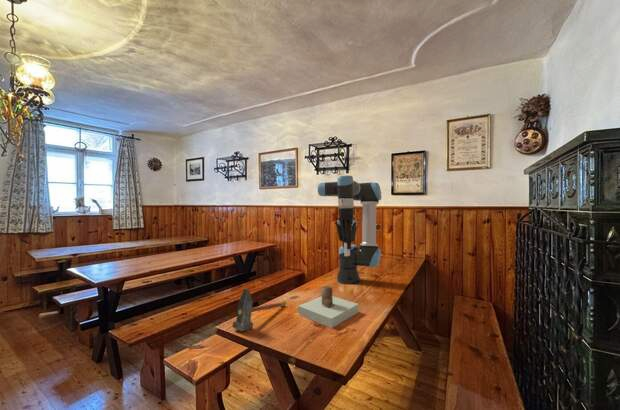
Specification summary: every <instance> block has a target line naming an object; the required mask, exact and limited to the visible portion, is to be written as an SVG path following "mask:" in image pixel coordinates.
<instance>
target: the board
mask: <svg viewBox="0 0 620 410" xmlns="http://www.w3.org/2000/svg"><path fill="white" fill-rule="evenodd" d="M332 297H333V305H332V306H331V307H330V308H327V307H323V306H322V304H321V303H322V299H321V296H318V297H316V298H314V299H311V300H309V301H307V302H306V301H305V303H302V304H299V305H298V306H297V307H298V309H297V310H298V315H299V316H301V317H304V318H306V319H309V320H311V321H313V322H315V323H318V324H321V325H323V326H326V327H328V328H330V329H332V328H334V327H336V326H338V325H339V324H342V323H343V322H344V321H346V320H348V319H350V318H352V317H353V316H355V315H357V314H358V313H359V303H356V302H353V301H349V300H346V299H343V298H340V297H336V296H334V295H332Z"/></svg>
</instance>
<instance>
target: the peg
mask: <svg viewBox="0 0 620 410" xmlns="http://www.w3.org/2000/svg"><path fill="white" fill-rule="evenodd" d="M320 288H321V289H320V290H321V291H320V293H321V299H322V303H321V304H322V306H323V307H327V308H330V307H331V306H332V305H333V297H332V296H333V287H332V286H329V285H324V286H321V287H320Z"/></svg>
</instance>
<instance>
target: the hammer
mask: <svg viewBox="0 0 620 410" xmlns="http://www.w3.org/2000/svg"><path fill="white" fill-rule="evenodd" d="M251 294H252V293H251V292H250V289H248V288H244V289H243V292H242V294H241V295H240V296H241V297H239V298H240V299H238V307H237V314H236V320H235V321H233V322H232V328H233V329H235V330H237V331H240V332H244V331H248V330H251V329H252V328H254V327H253V326H254V322H252V319H251V318H252V313H255V312H260V311H263V310H266V311H267V310H268V309H269V310H270V309H273V308H274V309H275V308H278V307H282V308H283V307H285V306H286V305H287V302H286V300H282V301H280V302H277V303H275V302H274V303H270V304H265V305H261V306H259V305H258V306H255V307H253V303H254V300H253V298H252V295H251Z"/></svg>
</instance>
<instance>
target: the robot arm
mask: <svg viewBox="0 0 620 410" xmlns="http://www.w3.org/2000/svg"><path fill="white" fill-rule="evenodd" d="M381 190H382V189H381V186H380V184H379V183H378V182H373V181H371V182H360V183H359V182H357V181H355V180H354V177H353V176H352V175H339V176H338V177H337V181H332V182H331V181H329V182H325V181H324V182H319V183H318V184H317V194H318V195H319V196H320V197H323V198H324V197H336V198H337V206H338V209H337V210H338V212H337V213H338V214H337V215H338V220H337V221H336V220H335V221H334V224H335V227H336V231H337V237H338V240H339V241H340V242H342V245H341V246H339V248H338V260H339V261H338V268H339V269H338V271H337V272H338V273H337V276H336V281H337V282H338V283H341V284H343V285H344V284H346V285H352V284H353V285H354V284H358V283H360V282H361V276H360V274H359V271H358V267H369V268H373V267H374V268H376V267H378V266H379V265H380V262H381V257H382V249H381V248H379V245H378V244H377V205H379V202H380V201H381V200H382V191H381ZM355 201H359V202H360V205H361V206H362V222H361V223H362V225H361V226H362V231H361V232H362V233H361V236H362V238H361V243H359V247H358V246H357V244H352V242H355V241H356V235H357V228H358V226H359V224H360V223H359V221H356V220H355V217H354V215H355V209H354V206H355V205H354V204H355Z"/></svg>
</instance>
